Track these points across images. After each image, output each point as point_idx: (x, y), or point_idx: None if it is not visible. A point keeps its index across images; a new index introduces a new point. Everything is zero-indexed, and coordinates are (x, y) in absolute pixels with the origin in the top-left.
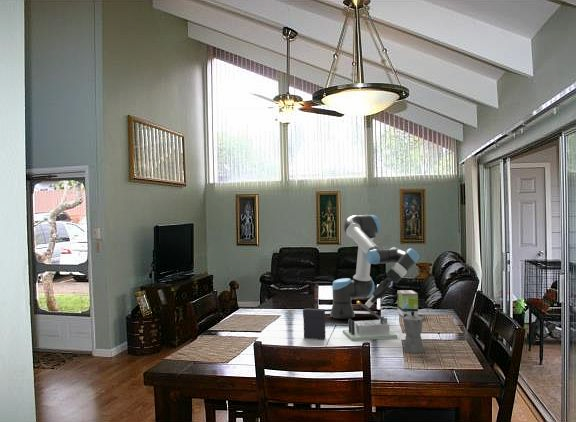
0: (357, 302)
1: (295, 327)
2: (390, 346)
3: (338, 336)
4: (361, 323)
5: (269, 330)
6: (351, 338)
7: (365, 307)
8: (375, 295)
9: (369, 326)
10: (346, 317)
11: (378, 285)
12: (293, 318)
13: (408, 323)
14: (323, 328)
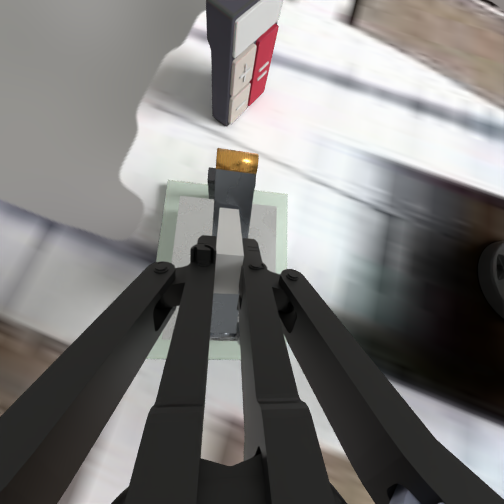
0: (234, 150)
1: (377, 104)
2: (34, 276)
3: None
4: None
5: (354, 42)
6: (173, 182)
7: (213, 211)
8: (192, 263)
9: (175, 241)
10: (483, 282)
11: (384, 383)
12: (486, 136)
13: None
14: (212, 85)
